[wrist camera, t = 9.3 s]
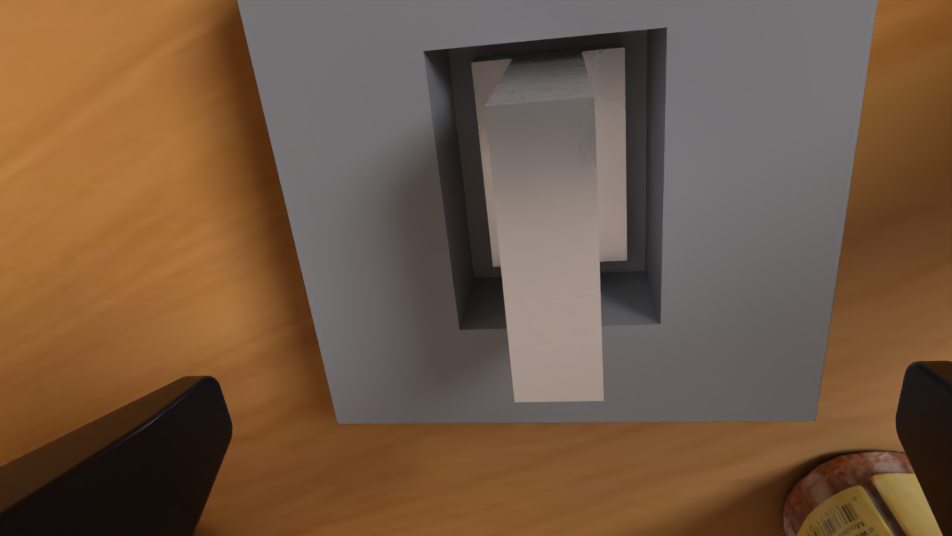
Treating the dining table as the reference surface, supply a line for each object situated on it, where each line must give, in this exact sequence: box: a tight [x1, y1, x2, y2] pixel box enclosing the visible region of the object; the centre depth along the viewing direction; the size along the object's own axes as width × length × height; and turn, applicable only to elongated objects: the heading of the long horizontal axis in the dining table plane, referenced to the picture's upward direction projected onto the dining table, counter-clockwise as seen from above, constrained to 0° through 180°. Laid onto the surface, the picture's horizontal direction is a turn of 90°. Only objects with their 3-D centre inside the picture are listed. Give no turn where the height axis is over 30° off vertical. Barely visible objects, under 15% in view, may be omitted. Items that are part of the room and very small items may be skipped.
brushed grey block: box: [471, 43, 627, 402], centre depth 15 cm, size 4×6×8 cm, turn 6°
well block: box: [237, 0, 878, 424], centre depth 18 cm, size 16×16×4 cm
